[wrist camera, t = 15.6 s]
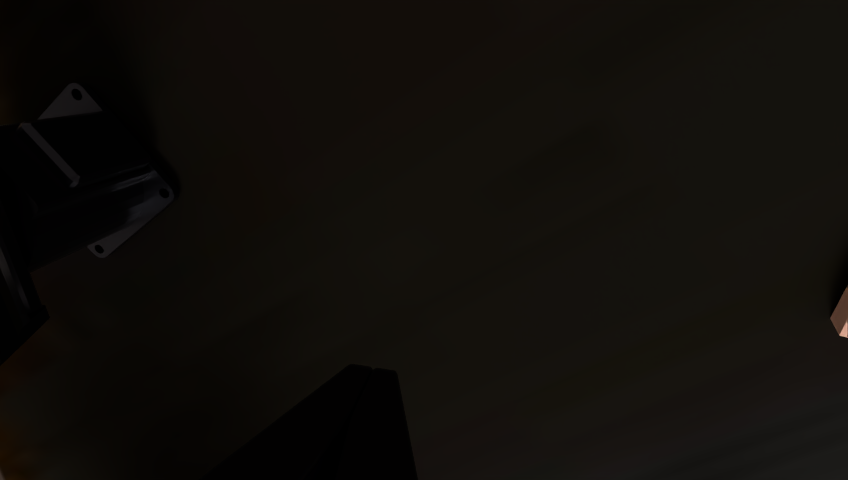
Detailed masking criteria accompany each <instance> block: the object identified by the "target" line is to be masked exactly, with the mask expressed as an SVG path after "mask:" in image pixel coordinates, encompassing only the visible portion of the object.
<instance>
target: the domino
mask: <svg viewBox="0 0 848 480" xmlns="http://www.w3.org/2000/svg"><path fill="white" fill-rule="evenodd" d="M830 319H831V321H832V323H833V325H834V326H835V328H836V330H837V332H838V334H839V335H840V336H844V337H847V338H848V285H847V287H846V289H845V291H844V293H843V295H842V297H841V299H840V300H839V302H838V304H837V306H836V308H835V310H834V312H833V314H832V316H831V318H830Z"/></svg>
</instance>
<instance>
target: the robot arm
mask: <svg viewBox="0 0 848 480" xmlns="http://www.w3.org/2000/svg"><path fill="white" fill-rule="evenodd" d="M79 91H80V92H81V94H82V98H81V96H80V95H79ZM165 189H166V190H167V191H168V192H169V195H167V194H166V192H165ZM178 197H179V189H178V188H177V186H176V185H175V184H174V183H173V181H172V180H171V179H170V178H169V177H168V176H167V175H166V173H165V172H164V171H163V170H162V169H161V168H160V167H159V165H158V164H157V163H156V162H155V161H154V160H153V159H152V157H151V156H150V155H149V154H148V153H147V152H146V151H145V149H144V148H143V147H142V146H141V145H140V144H139V142H138V141H137V140H136V139H135V138H134V137H133V136H132V134H131V133H130V132H129V131H128V130H127V129H126V128H125V126H124V125H123V124H122V123H121V122H120V121H119V120H118V118H117V117H116V116H115V115H114V114H113V113H112V112H111V110H110V109H109V108H108V107H107V106H106V105H105V103H104V102H103V101H102V100H101V99H100V98H99V97H98V95H97V94H96V93H95V92H94V91H93V90H92V89H91V87H89V86H88V85H87V84H85V83H71V84H69V85H68V86H67V87H66V88H65V89H64V90H63V91H62V92H61V94H60V95H59V96H58V97H57V98H56V99H55V100H54V101H53V103H52V104H51V105H50V106H49V107H48V108H47V109H46V110H45V111H44V113H43V114H42V115H41V116H40V117H39V118H38V119H37V120H31V121H25V122H22V123H15V124H8V125H1V126H0V365H1V364H2V363H4V362H5V361H6V360H7V359H8V358H9V357H10V356H11V355H12V354H13V353H14V352H15V351H16V350H17V349H18V348H19V347H20V346H21V345H22V344H23V343H24V342H25V341H26V340H27V339H28V338H30V337H31V336H32V335H33V334H34V333H35V332H36V331H37V330H38V329H39V328H40V327H41V326H42V325H43V324H44V323H45V322H46V321H47V320H48V319H49V318H50V317H49V314H48V312H47V309H46V307H45V305H42V304H41V302H40V299H39V296H38V294H37V291H36V289H35V286H34V283H33V281H32V278H31V275H30V272H32V271H35V270H37V269H39V268H41V267H43V266H45V265H47V264H50V263H52V262H54V261H56V260H58V259H60V258H63V257H65V256H67V255H69V254H71V253H73V252H75V251H78V250H80V249H82V248H84V247H86V246H87V247H88V248H89V249H90V250H91V251H92V252H93V254H95V255H96V256H97V257H100V258H104V257H107V256H108V255H110V254H112V253H114V252H115V251H116V250H117V249H118V248H120V247H121V246H122V245H123V244H124V243H126V242H127V241H128V240H129V239H130V238H131V237H133V236H134V235H135V234H136V233H137V232H139V231H140V230H141V229H142V228H143V227H145V226H146V225H147V224H148V223H149V222H151V221H152V220H153V219H154V218H155V217H157V216H158V215H159V214H160V213H161V212H163V211H164V210H165V209H166V208H167V207H169V206H170V205H171V204H172V203H173V202H174V201H176V200H177V199H178ZM101 246H102V247H103V248H102V247H101ZM199 480H418V477H417V472H416V467H415V462H414V457H413V452H412V447H411V442H410V437H409V431H408V426H407V421H406V416H405V411H404V406H403V401H402V396H401V391H400V385H399V380H398V375H397V373H396V372H395V371H394V370H387V369H381V368H375V369H374V370H373V369H372V368H371V367H369V366H362V365H356V364H350V365H348V366H347V367H345V368H344V369H343V370H341V371H340V372H339V373H337V374H336V375H335V376H334V377H332V378H331V379H330V380H328V381H327V382H326V383H324V384H323V385H322V386H320V387H319V388H318V389H317V390H315V391H314V392H313V393H311V394H310V395H309V396H307V397H306V398H305V399H304V400H302V401H301V402H300V403H298V404H297V405H296V406H294V407H293V408H292V409H290V410H289V411H288V412H287V413H285V414H284V415H283V416H281V417H280V418H279V419H277V420H276V421H275V422H273V423H272V424H271V425H270V426H268V427H267V428H266V429H264V430H263V431H262V432H260V433H259V434H258V435H257V436H255V437H254V438H253V439H251V440H250V441H249V442H247V443H246V444H245V445H243V446H242V447H241V448H240V449H238V450H237V451H236V452H234V453H233V454H232V455H230V456H229V457H228V458H226V459H225V460H224V461H223V462H221V463H220V464H219V465H217V466H216V467H215V468H213V469H212V470H211V471H209V472H208V473H207V474H206V475H204V476H203V477H202V478H200V479H199Z"/></svg>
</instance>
